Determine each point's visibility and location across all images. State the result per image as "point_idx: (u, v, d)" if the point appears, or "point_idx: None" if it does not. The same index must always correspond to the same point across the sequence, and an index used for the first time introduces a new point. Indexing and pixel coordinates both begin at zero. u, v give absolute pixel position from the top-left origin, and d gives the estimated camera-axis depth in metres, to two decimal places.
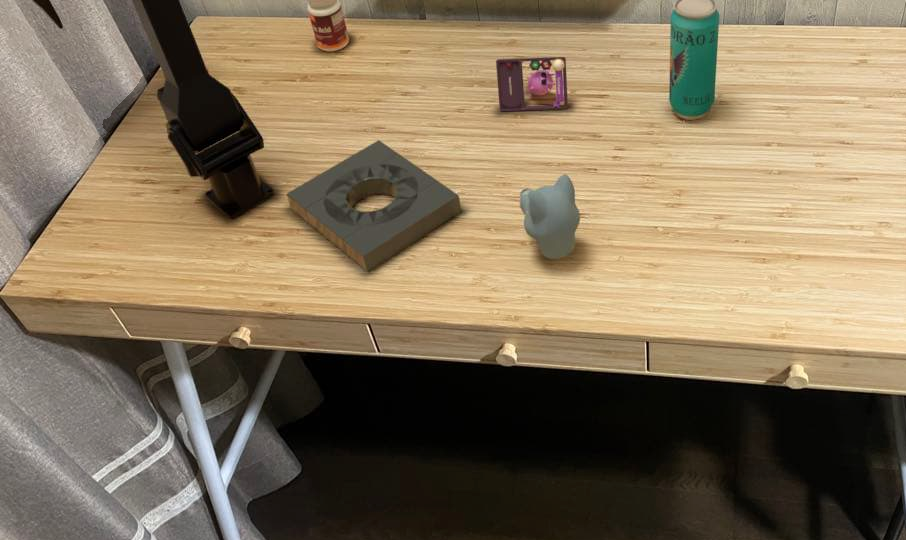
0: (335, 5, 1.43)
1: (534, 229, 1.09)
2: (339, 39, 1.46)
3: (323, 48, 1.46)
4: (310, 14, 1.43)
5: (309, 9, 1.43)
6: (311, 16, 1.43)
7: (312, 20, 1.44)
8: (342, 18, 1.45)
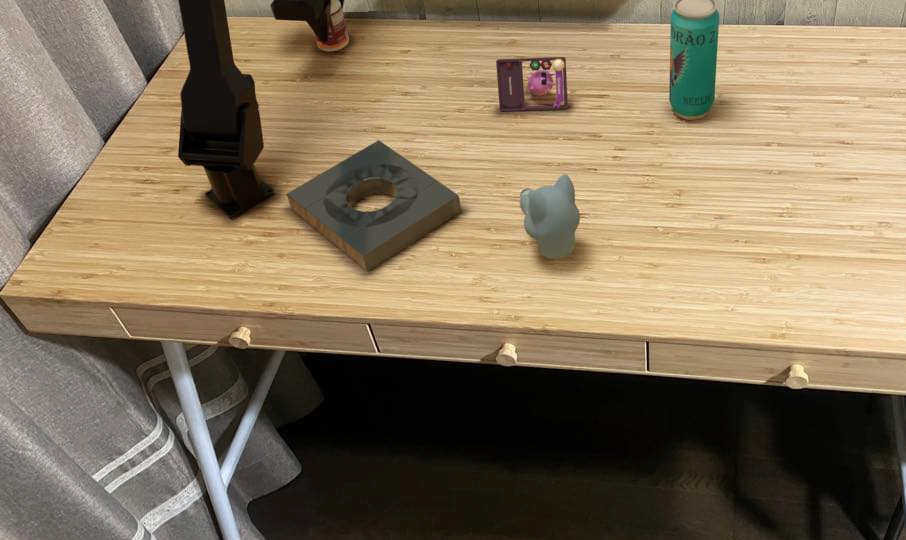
0: (335, 5, 1.43)
1: (534, 229, 1.09)
2: (339, 40, 1.46)
3: (323, 48, 1.46)
4: None
5: None
6: None
7: None
8: (342, 18, 1.45)
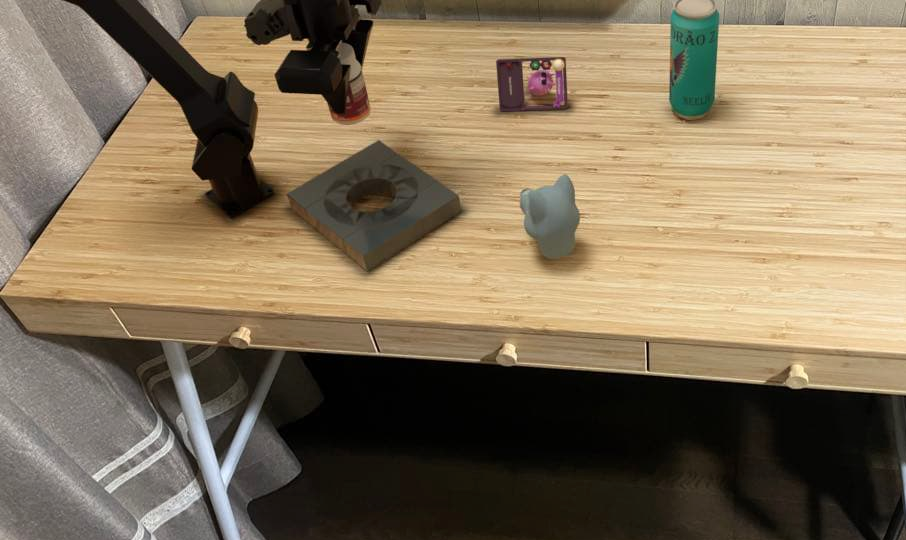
0: (355, 69, 1.13)
1: (534, 229, 1.09)
2: (360, 111, 1.16)
3: (339, 121, 1.17)
4: None
5: None
6: None
7: None
8: (363, 84, 1.15)
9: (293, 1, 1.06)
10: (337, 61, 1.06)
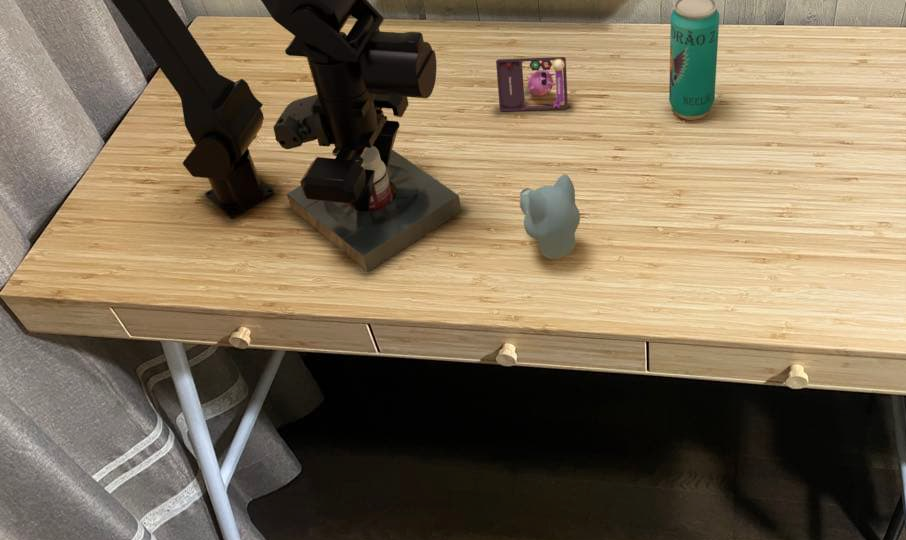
0: (380, 171, 1.17)
1: (534, 229, 1.09)
2: None
3: None
4: None
5: None
6: None
7: None
8: (387, 184, 1.18)
9: (321, 111, 1.09)
10: (361, 170, 1.09)
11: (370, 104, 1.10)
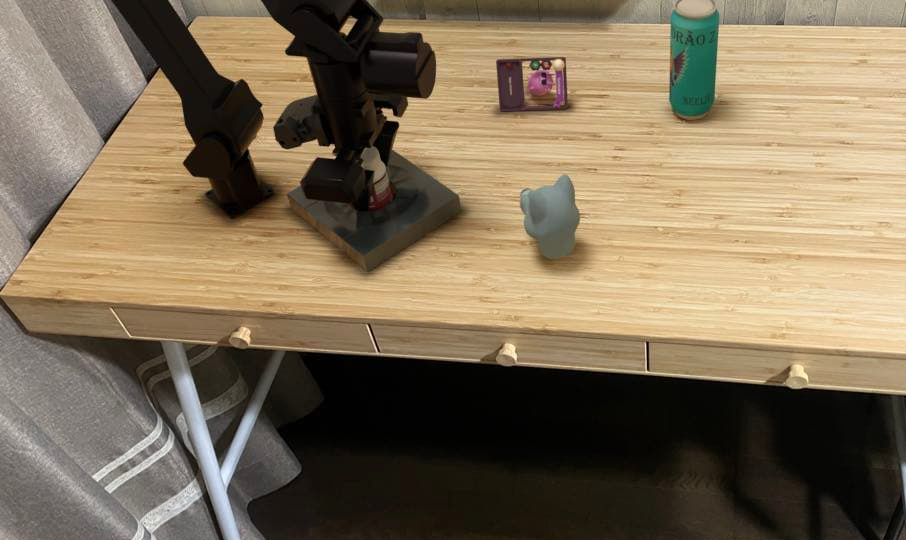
0: (380, 171, 1.17)
1: (534, 229, 1.09)
2: None
3: None
4: None
5: None
6: None
7: None
8: (387, 184, 1.18)
9: (321, 111, 1.09)
10: (361, 170, 1.09)
11: (370, 104, 1.10)
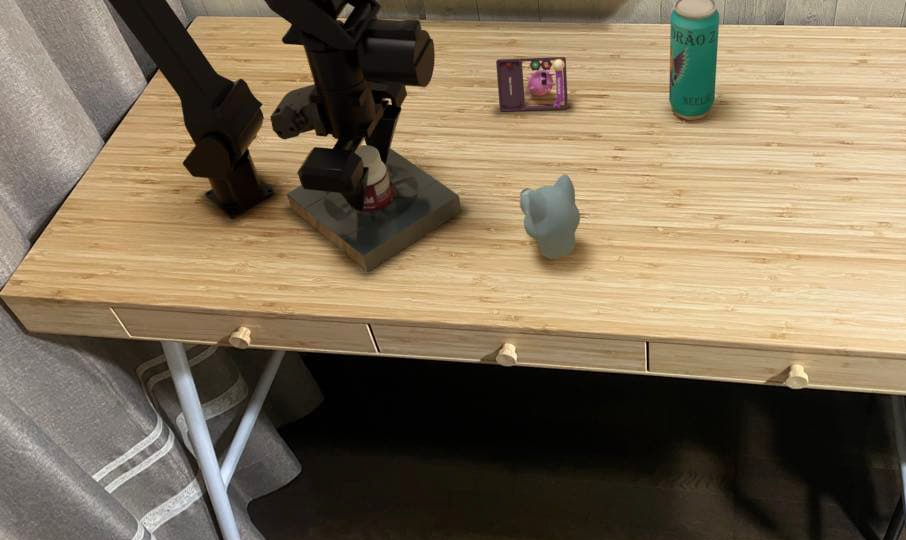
0: (380, 172, 1.17)
1: (534, 229, 1.09)
2: None
3: None
4: None
5: None
6: None
7: None
8: (387, 185, 1.18)
9: (318, 100, 1.08)
10: (359, 160, 1.08)
11: (368, 93, 1.09)
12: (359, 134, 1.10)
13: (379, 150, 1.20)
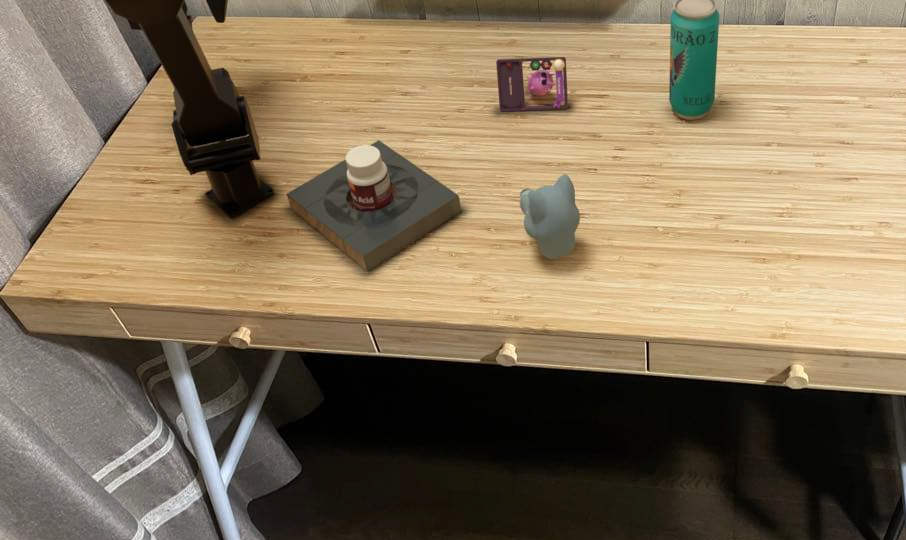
0: (381, 173, 1.17)
1: (534, 229, 1.09)
2: None
3: None
4: (349, 181, 1.17)
5: (348, 175, 1.17)
6: (350, 183, 1.17)
7: (351, 188, 1.17)
8: (387, 186, 1.18)
9: None
10: None
11: None
12: None
13: (217, 3, 1.29)
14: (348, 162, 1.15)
